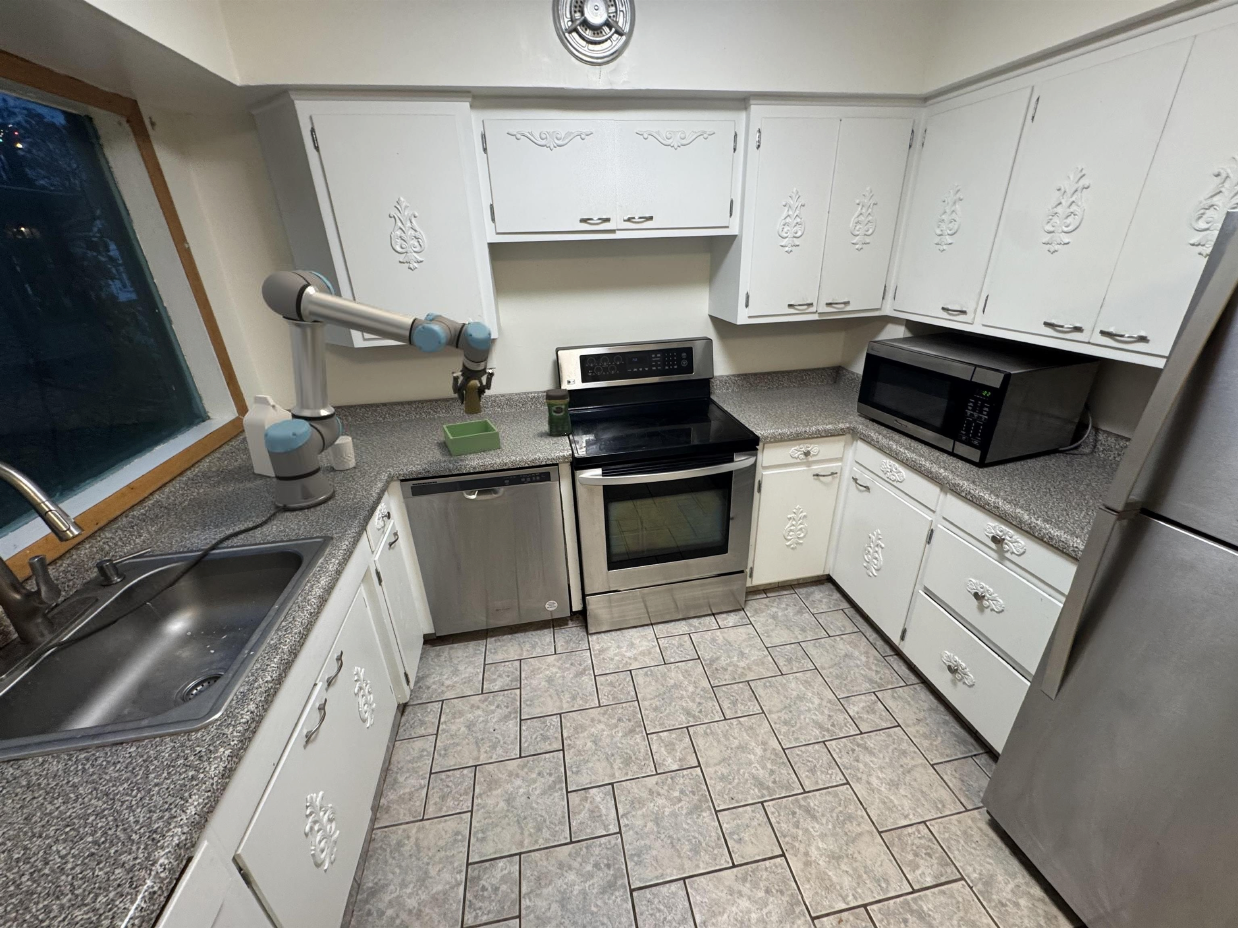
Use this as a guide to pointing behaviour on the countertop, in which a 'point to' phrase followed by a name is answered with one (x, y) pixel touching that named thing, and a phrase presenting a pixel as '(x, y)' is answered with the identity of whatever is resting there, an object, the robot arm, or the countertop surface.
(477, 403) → the cork
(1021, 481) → the countertop surface
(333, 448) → the white cup
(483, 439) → the box
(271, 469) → the milk
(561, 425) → the coffee jar
